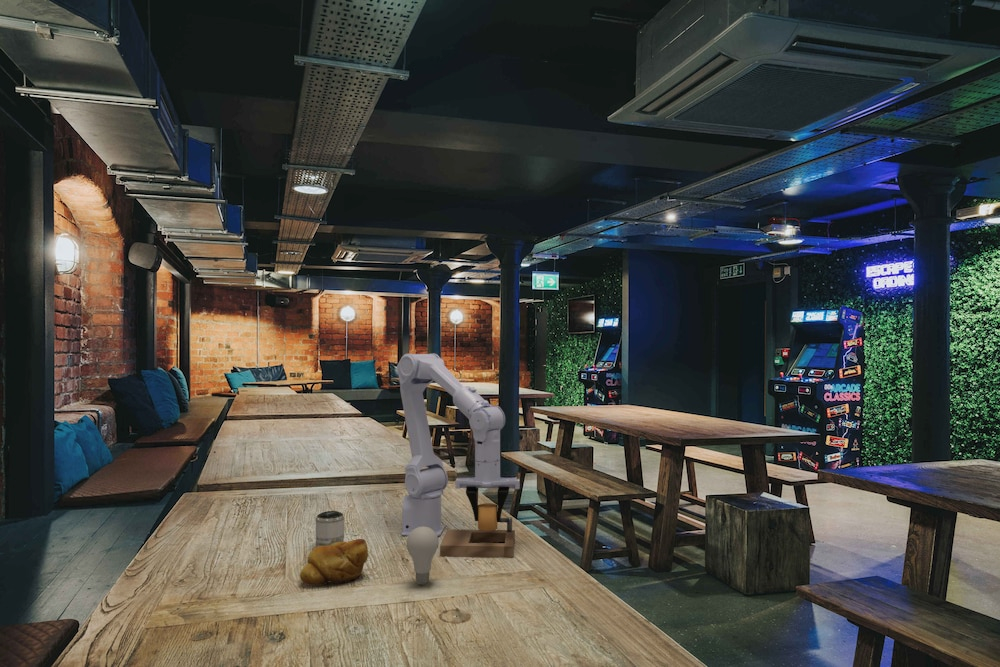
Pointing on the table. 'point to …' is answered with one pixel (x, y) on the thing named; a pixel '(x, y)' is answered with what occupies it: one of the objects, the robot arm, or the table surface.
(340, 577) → the bread roll
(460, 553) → the brown square frame
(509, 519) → the hook
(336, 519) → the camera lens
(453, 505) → the table surface
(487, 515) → the orange rounded capsule
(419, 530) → the lightbulb
